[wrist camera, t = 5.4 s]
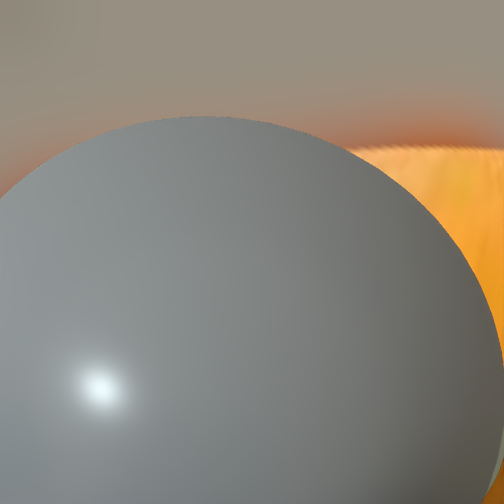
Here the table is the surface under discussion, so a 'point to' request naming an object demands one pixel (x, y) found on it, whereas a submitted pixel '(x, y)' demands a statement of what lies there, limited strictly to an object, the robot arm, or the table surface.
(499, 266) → the table surface
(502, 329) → the table surface
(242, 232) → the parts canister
